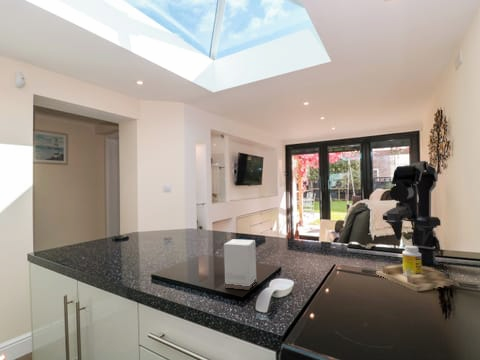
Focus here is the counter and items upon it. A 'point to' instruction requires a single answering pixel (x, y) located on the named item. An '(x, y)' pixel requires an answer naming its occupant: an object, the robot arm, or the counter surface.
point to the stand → (415, 278)
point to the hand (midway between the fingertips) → (409, 242)
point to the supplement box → (240, 262)
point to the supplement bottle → (411, 261)
